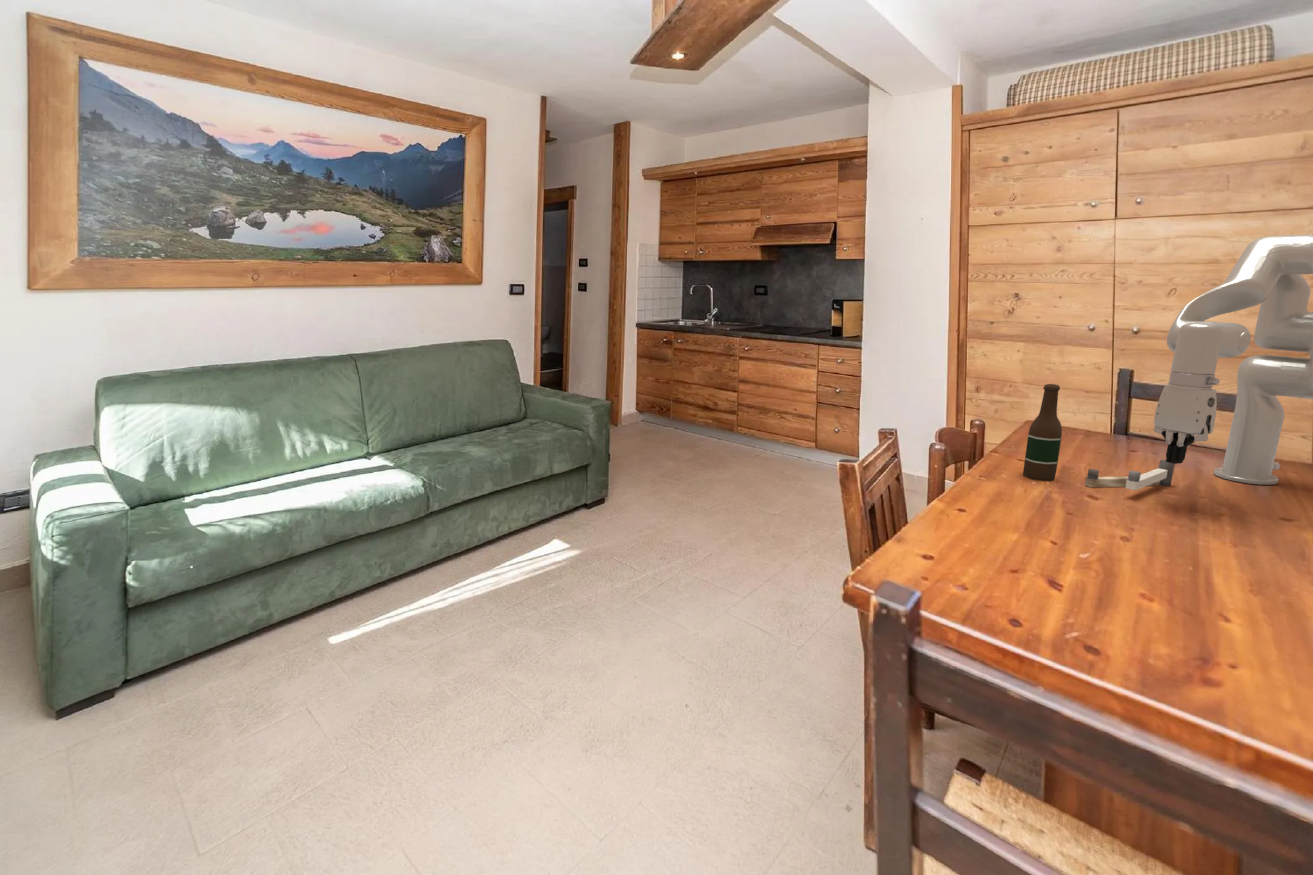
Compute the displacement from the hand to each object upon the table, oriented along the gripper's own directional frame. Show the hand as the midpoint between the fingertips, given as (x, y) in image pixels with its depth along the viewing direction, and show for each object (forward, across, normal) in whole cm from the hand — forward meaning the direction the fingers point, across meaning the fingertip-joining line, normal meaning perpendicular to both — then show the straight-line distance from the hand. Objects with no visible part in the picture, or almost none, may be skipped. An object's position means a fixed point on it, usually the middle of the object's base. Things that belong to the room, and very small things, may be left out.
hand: (1174, 462), depth 150 cm
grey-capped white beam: (+10, +14, -7) cm, 18 cm away
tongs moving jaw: (+8, +8, -5) cm, 12 cm away
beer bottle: (+10, +26, +8) cm, 29 cm away
